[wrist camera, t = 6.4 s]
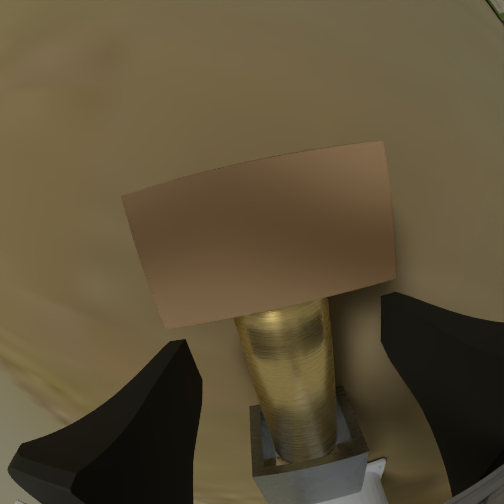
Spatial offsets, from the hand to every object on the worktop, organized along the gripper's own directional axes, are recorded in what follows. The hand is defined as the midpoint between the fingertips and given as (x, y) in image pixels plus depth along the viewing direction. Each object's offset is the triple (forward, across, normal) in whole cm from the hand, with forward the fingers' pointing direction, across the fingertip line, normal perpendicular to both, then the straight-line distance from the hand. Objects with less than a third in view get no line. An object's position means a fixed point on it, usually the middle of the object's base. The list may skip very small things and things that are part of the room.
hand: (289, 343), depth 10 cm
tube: (+4, 0, +2) cm, 4 cm away
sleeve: (+4, 0, +10) cm, 11 cm away
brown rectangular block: (+4, 0, -4) cm, 6 cm away
